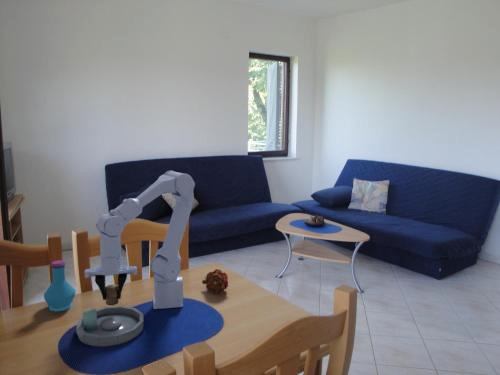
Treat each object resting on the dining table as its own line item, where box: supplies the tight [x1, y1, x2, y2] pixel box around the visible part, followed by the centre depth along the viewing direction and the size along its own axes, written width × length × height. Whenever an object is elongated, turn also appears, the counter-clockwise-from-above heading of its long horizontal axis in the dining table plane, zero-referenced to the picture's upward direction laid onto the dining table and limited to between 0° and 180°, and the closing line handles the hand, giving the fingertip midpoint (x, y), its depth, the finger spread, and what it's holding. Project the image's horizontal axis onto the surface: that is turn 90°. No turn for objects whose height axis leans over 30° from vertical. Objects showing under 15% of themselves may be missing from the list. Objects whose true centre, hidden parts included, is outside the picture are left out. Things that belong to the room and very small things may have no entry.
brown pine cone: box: [201, 268, 229, 294], centre depth 146 cm, size 8×8×12 cm
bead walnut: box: [105, 284, 119, 306], centre depth 122 cm, size 4×4×5 cm
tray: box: [75, 305, 144, 348], centre depth 117 cm, size 18×18×3 cm
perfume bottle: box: [43, 259, 76, 312], centre depth 129 cm, size 9×9×15 cm
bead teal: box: [82, 308, 97, 331], centre depth 116 cm, size 4×4×5 cm
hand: (112, 298), depth 122 cm, fingers closed on bead walnut, 4 cm apart
